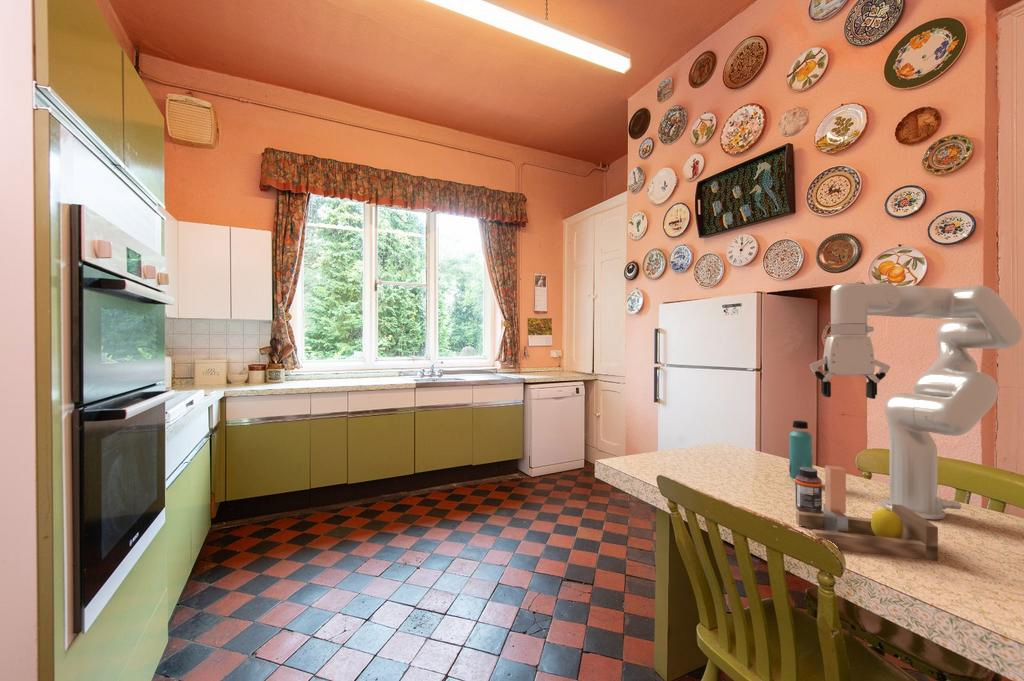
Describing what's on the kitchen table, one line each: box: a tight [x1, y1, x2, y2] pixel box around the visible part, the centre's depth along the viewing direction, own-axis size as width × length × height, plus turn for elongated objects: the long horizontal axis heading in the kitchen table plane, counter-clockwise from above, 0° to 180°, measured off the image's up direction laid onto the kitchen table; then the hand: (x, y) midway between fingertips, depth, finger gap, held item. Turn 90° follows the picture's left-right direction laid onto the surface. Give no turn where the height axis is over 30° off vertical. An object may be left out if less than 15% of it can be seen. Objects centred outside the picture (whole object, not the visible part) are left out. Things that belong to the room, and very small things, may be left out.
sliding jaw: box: [822, 464, 849, 533], centre depth 102 cm, size 3×8×16 cm, turn 163°
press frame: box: [795, 504, 939, 562], centre depth 100 cm, size 22×13×7 cm, turn 73°
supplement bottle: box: [794, 467, 823, 514], centre depth 118 cm, size 6×6×11 cm
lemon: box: [870, 507, 903, 539], centre depth 99 cm, size 6×6×8 cm
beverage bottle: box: [788, 420, 814, 480], centre depth 141 cm, size 6×7×20 cm
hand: (848, 397), depth 113 cm, fingers open, 9 cm apart
